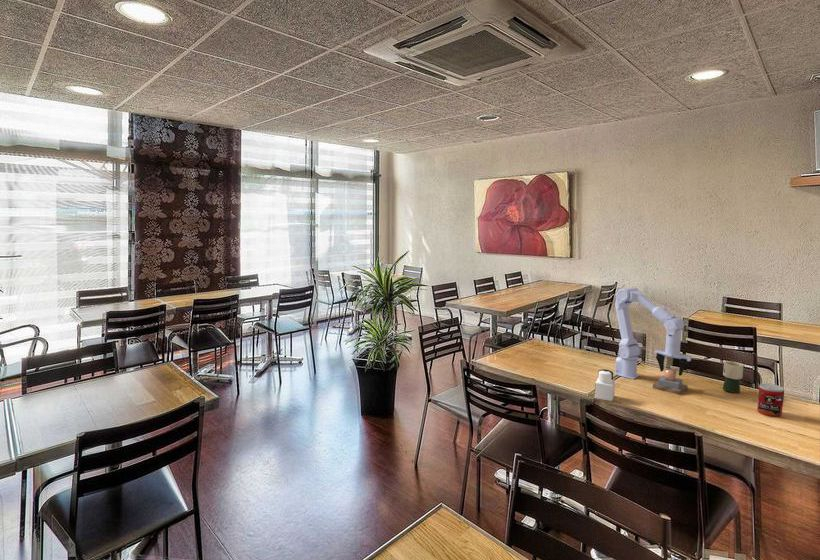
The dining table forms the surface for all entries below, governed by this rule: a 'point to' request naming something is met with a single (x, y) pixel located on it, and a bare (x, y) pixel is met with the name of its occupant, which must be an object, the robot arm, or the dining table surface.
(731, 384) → the character mug
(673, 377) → the egg
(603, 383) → the medicine bottle
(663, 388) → the base slab
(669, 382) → the top slab
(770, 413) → the canned food
